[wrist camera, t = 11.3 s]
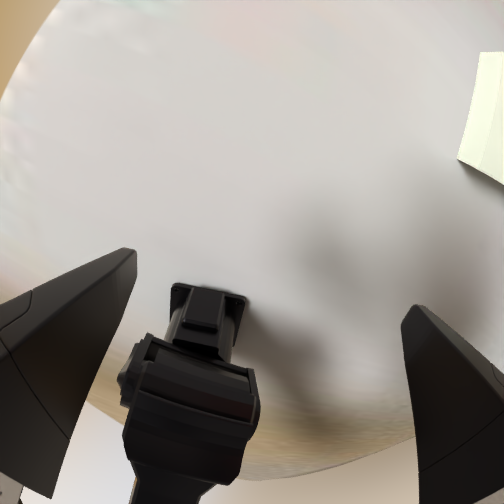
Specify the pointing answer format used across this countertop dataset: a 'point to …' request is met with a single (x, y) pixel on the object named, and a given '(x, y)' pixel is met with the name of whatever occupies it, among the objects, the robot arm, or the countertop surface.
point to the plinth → (486, 119)
